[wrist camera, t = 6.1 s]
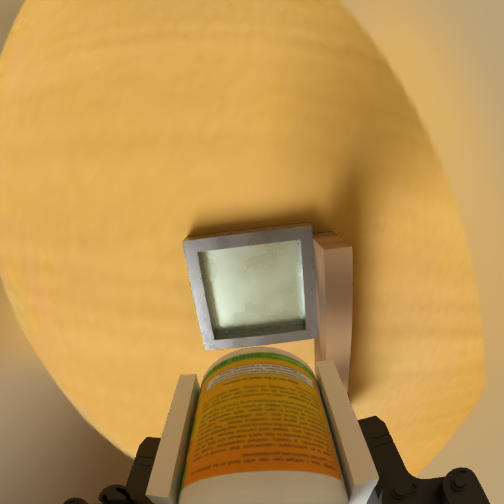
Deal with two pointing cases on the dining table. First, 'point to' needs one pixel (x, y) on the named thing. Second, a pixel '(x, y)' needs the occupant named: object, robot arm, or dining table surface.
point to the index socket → (254, 285)
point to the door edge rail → (334, 301)
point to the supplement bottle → (261, 435)
